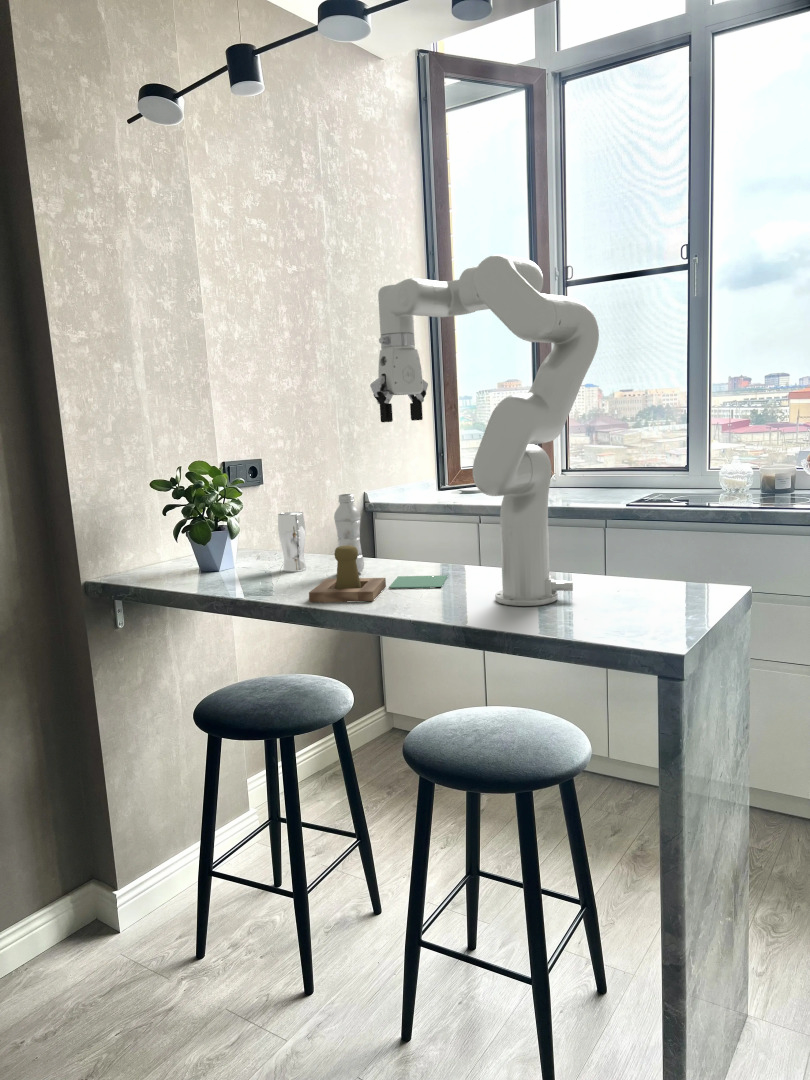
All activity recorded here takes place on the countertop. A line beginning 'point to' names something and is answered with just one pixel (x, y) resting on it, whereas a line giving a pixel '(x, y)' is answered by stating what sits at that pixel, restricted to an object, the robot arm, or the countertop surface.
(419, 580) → the mat
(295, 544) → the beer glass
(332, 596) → the socket
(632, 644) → the countertop surface
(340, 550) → the cork
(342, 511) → the plastic bottle
